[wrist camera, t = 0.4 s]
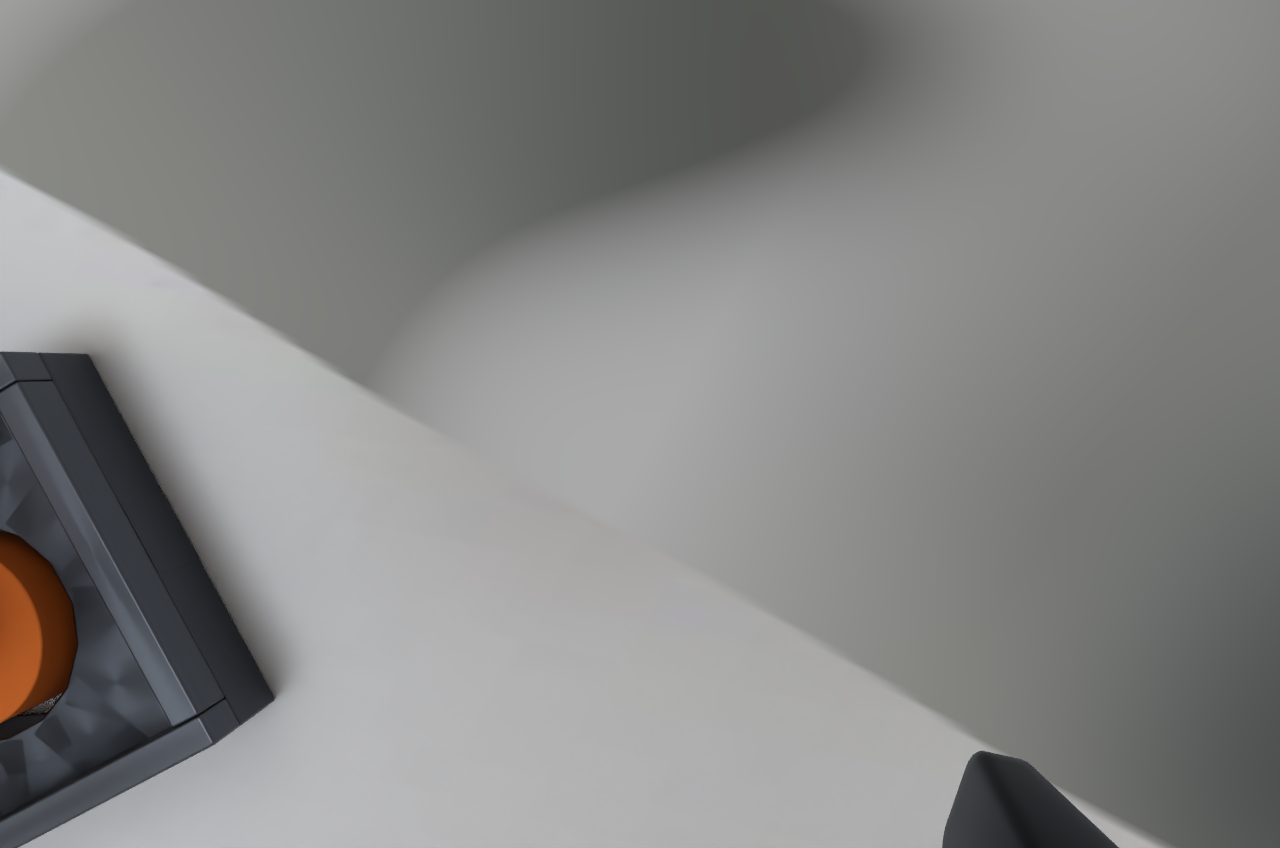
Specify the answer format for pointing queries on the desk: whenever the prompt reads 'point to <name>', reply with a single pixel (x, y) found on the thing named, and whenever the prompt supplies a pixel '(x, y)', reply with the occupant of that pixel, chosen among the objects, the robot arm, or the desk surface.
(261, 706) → the sink
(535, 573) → the desk surface
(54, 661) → the plug
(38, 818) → the sink rim
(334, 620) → the desk surface
